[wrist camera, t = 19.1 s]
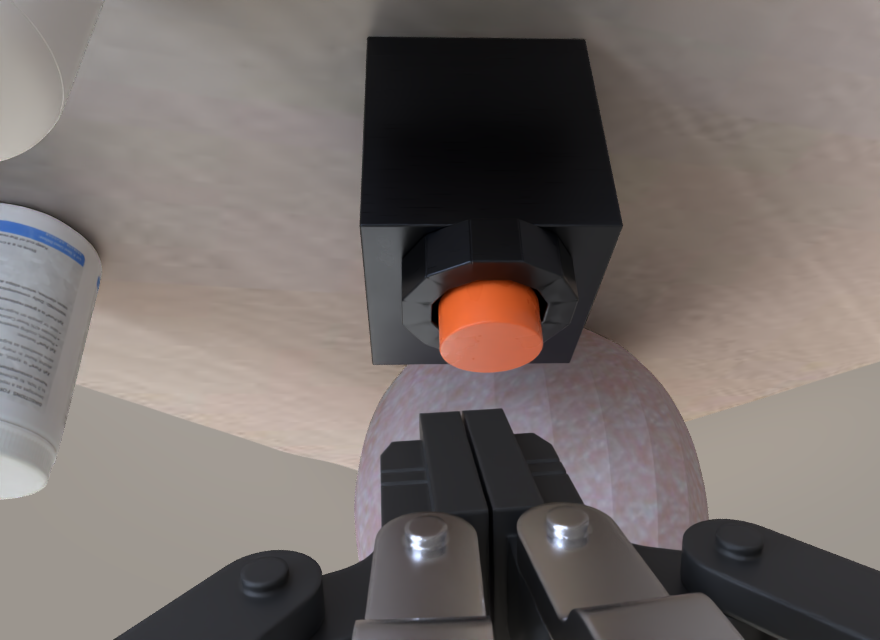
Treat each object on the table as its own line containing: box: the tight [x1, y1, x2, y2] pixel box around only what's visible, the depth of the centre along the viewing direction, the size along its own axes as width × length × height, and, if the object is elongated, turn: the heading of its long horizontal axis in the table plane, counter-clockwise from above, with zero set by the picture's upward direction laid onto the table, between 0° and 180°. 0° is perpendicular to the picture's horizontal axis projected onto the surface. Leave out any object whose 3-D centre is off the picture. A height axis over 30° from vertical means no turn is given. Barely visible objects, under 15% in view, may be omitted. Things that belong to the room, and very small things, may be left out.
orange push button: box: [438, 280, 543, 373], centre depth 29 cm, size 4×4×2 cm
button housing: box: [360, 37, 623, 365], centre depth 34 cm, size 10×11×13 cm
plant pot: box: [355, 328, 709, 562], centre depth 50 cm, size 24×24×30 cm
